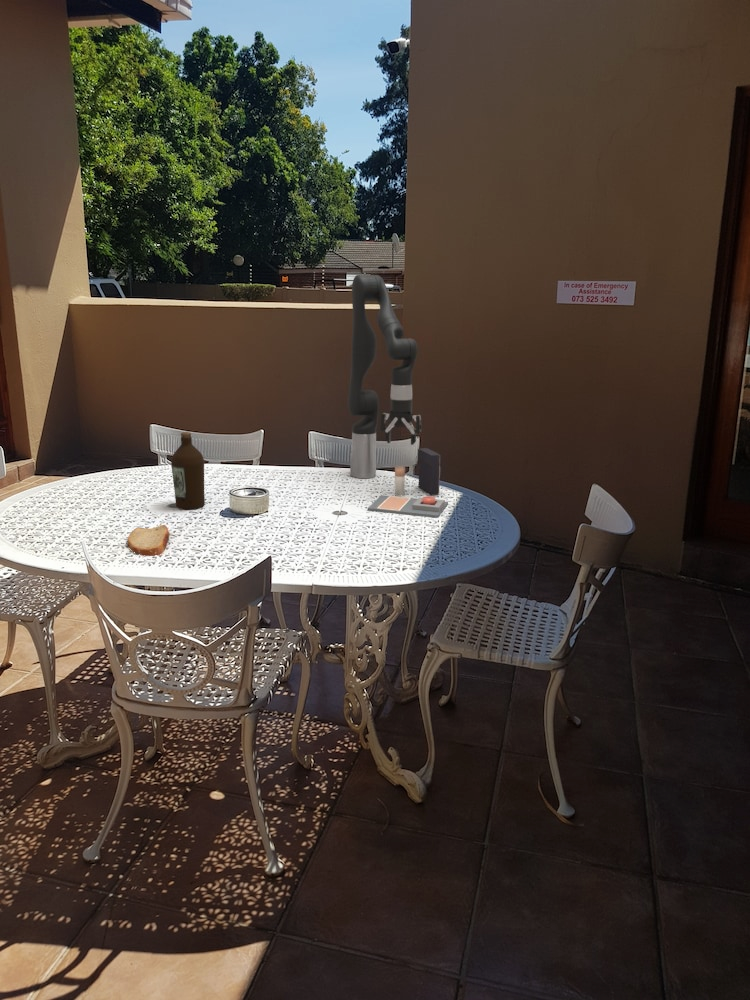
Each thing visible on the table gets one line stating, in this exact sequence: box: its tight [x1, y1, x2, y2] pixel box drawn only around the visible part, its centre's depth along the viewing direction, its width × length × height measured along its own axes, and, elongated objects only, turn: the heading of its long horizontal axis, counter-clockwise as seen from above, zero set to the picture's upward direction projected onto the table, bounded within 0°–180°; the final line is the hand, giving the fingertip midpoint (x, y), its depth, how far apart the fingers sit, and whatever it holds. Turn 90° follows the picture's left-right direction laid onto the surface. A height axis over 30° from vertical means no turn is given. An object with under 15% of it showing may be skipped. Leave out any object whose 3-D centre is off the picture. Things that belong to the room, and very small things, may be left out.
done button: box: [421, 496, 436, 505], centre depth 250 cm, size 4×4×2 cm
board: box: [367, 494, 449, 519], centre depth 253 cm, size 24×16×2 cm, turn 73°
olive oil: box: [170, 431, 206, 511], centre depth 248 cm, size 11×11×25 cm
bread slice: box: [126, 524, 170, 557], centre depth 217 cm, size 18×18×4 cm
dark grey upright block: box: [417, 447, 441, 496], centre depth 270 cm, size 11×4×15 cm, turn 22°
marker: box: [394, 465, 406, 497], centre depth 267 cm, size 4×4×10 cm
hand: (400, 443), depth 263 cm, fingers open, 8 cm apart
